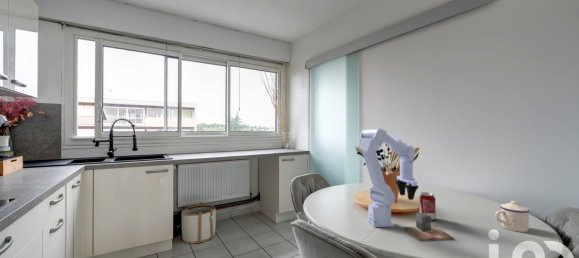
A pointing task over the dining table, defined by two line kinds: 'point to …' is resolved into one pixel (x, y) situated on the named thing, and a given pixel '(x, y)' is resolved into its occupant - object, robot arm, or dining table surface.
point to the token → (423, 221)
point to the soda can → (427, 204)
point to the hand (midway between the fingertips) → (406, 197)
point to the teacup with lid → (514, 217)
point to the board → (428, 234)
